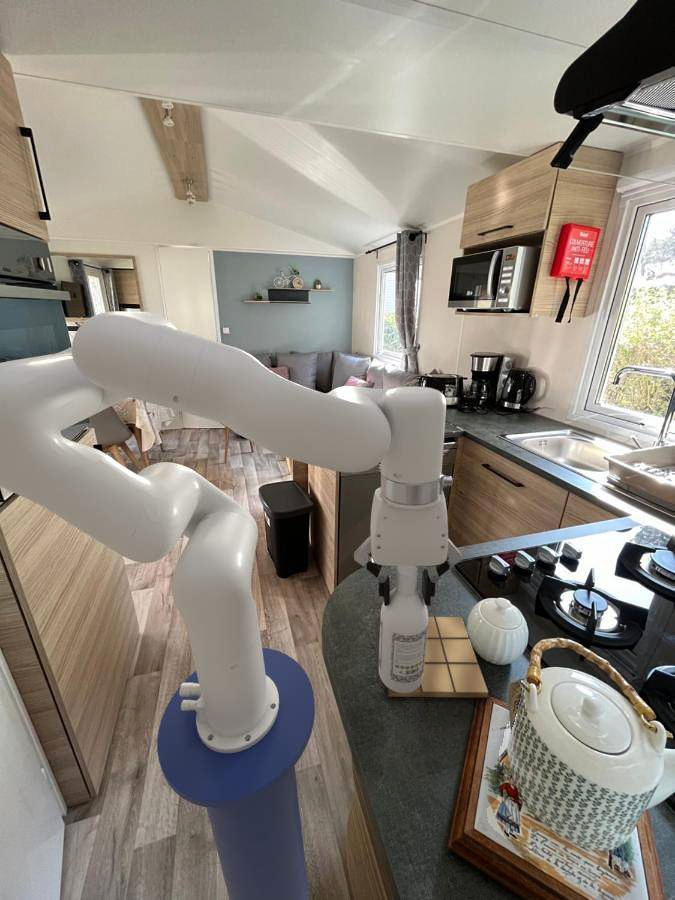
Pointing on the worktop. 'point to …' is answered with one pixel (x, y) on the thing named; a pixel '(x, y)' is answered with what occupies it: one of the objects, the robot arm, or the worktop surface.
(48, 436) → the robot arm
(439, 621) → the grid board
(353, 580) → the worktop surface
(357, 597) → the worktop surface
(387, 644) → the bath foam
